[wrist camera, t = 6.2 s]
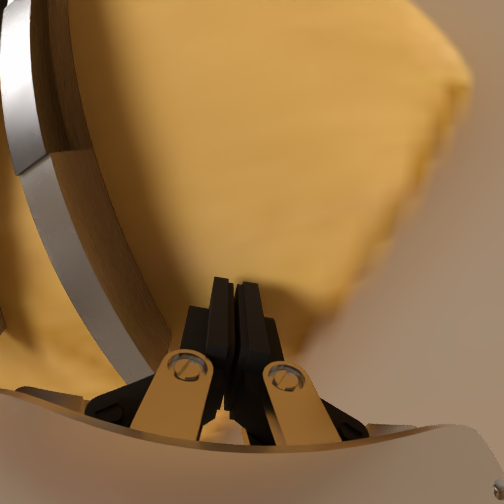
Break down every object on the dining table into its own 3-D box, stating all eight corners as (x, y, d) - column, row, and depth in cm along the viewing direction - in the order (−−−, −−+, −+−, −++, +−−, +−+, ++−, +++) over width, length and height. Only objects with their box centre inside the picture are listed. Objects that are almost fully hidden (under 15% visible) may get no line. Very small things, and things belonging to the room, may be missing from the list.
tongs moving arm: (172, 335, 12) (159, 385, 9) (144, 341, 12) (127, 389, 9) (67, -42, 4) (42, -64, 1) (44, -27, 4) (16, -45, 1)
